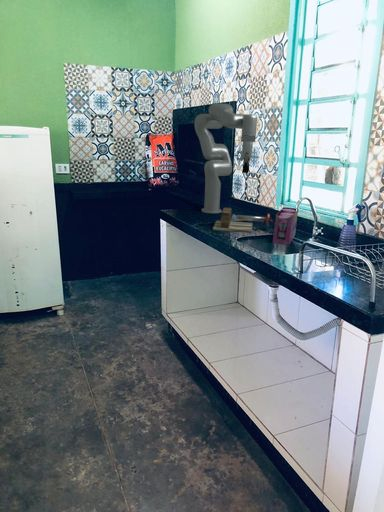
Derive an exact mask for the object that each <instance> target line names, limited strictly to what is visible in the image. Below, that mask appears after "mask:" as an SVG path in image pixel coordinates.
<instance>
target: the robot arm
mask: <svg viewBox="0 0 384 512" xmlns="http://www.w3.org/2000/svg"><path fill="white" fill-rule="evenodd" d="M257 125H258V116H257V114H250V113H249V114H248V113H247V114H246V113H234V109H233V106H232V105H231V104H229V103H222V102H221V103H219V102H217V103H213V104H211V105H210V106H209V108H208V113H201V114H200V113H199V114H198V115H197V116H195V118H194V130H195V133H196V135H197V137H198V139H199V144H200V147H201V151H202V154H203V157H204V159H205V160H208V161H206V162H205V164H204V169H203V171H204V176H205V178H204V179H205V180H204V183H205V184H204V186H205V187H204V205H203V208H201V212H202V213H205V214H220V213H221V214H222V211H223V209H221V208H220V201H221V180H220V178H219V177H223V176H224V177H225V176H230V175H231V174H232V172H233V165H232V164H233V163H232V161H231V156H230V152H229V149H228V147H227V146H226V145H225V144H223V143H216V142H215V140H214V136H213V134H212V133H211V132H210V131H209V129H210V130H211V129H214V130H216V129H217V130H219V129H222V128H223V127H226V128H228V129H239V130H240V129H241V135H240V137H241V138H240V143H242V146H241V159H240V160H241V162H243V164H242V170H241V171H242V174H248V173H249V172H250V161H251V160H252V155H253V145H254V143H256V138H257V137H256V136H257Z"/></svg>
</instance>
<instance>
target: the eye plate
mask: <svg viewBox="0 0 384 512" xmlns="http://www.w3.org/2000/svg"><path fill="white" fill-rule="evenodd" d="M212 230H213V231H223V232H225V231H226V232H234V233H235V232H236V233H248V234H249V233H250V234H251V233H252V232H253V222H244V221H232V207H223V209H222V212H221V219H220V220H215V223H214V226H212Z"/></svg>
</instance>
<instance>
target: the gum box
mask: <svg viewBox="0 0 384 512" xmlns="http://www.w3.org/2000/svg"><path fill="white" fill-rule="evenodd" d="M296 209H297V208H295V207H284V206H283V207H282V208H281V209H280V210H279V212H277V213H276V214H275V221H274V229H273V236H272V244H278V245H286V246H289V245H290V244H291V242H292V241H293V239H294V237H295V235H296V232H297V222H298V215H299V214H298V212H299V209H298V210H297V212H296Z"/></svg>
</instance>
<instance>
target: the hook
mask: <svg viewBox="0 0 384 512" xmlns="http://www.w3.org/2000/svg"><path fill="white" fill-rule="evenodd" d="M270 217H271V213H267V214H266V216H255V215H241V214H238V215H236V217H235V218H236V220H238V221H247V222H259V223H260V222H262V223H266V225H265V226H267V227H269V226H270V222H271V223H273V222H274V219H270Z"/></svg>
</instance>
